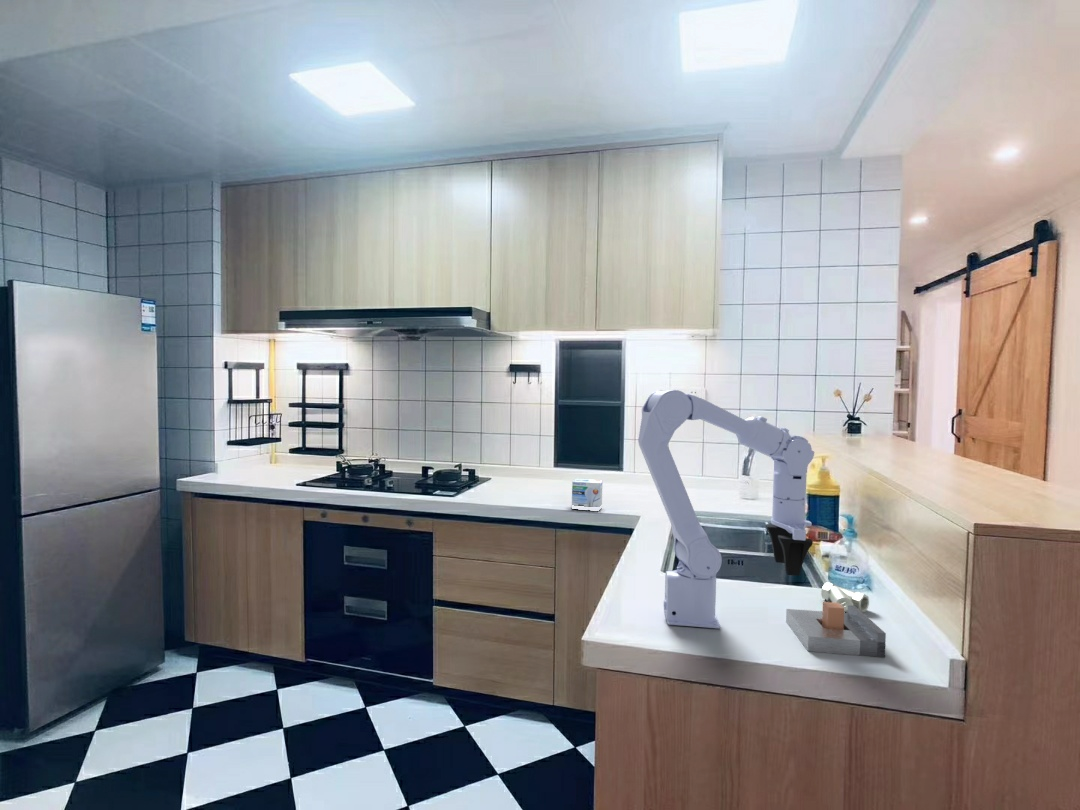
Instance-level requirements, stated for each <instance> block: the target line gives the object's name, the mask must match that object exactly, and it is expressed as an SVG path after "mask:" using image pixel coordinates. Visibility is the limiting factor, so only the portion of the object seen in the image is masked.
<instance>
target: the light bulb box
mask: <svg viewBox="0 0 1080 810" xmlns="http://www.w3.org/2000/svg"><path fill="white" fill-rule="evenodd" d="M571 487H572V488H571V506H572V505H574V506H584V507H600V506H601V505H602V506H603V480H602V479H589V478H588V479H585V478H575V479H574V480H572V484H571Z"/></svg>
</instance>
